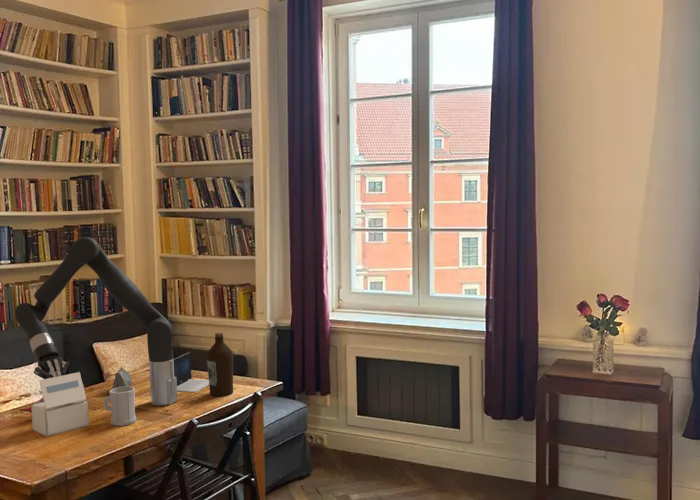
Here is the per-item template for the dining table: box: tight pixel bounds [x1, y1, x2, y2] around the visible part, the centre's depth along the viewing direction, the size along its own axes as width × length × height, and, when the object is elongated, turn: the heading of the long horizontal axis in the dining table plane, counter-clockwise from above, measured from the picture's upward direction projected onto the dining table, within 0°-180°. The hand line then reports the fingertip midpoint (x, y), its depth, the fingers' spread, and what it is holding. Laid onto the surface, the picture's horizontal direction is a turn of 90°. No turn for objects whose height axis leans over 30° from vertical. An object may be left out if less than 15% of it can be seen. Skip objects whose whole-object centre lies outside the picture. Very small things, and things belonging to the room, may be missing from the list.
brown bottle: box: [206, 332, 234, 397], centre depth 274 cm, size 11×11×25 cm
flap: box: [39, 371, 87, 409], centre depth 234 cm, size 1×14×10 cm, turn 136°
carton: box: [30, 399, 90, 438], centre depth 237 cm, size 12×15×9 cm
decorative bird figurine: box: [18, 397, 44, 413], centre depth 247 cm, size 3×18×10 cm, turn 156°
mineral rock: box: [112, 366, 132, 389], centre depth 285 cm, size 13×11×10 cm
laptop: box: [173, 351, 209, 393], centre depth 287 cm, size 18×12×13 cm
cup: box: [103, 386, 137, 427], centre depth 240 cm, size 10×9×12 cm
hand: (60, 387), depth 235 cm, fingers closed
